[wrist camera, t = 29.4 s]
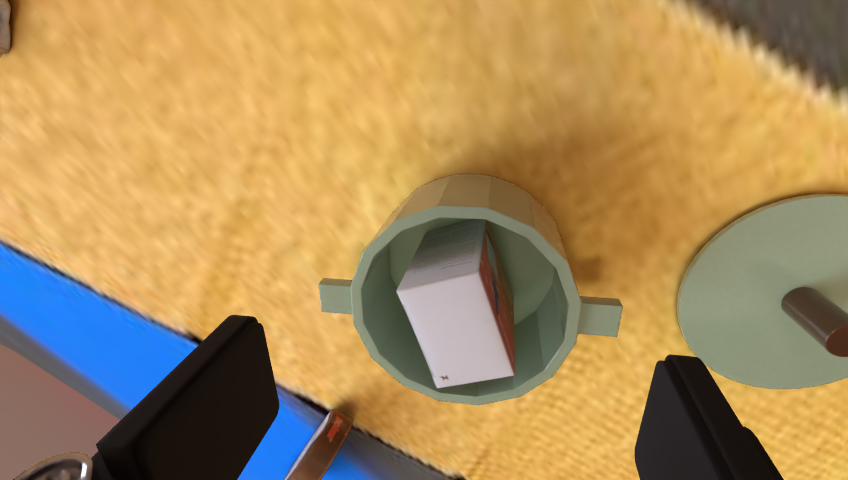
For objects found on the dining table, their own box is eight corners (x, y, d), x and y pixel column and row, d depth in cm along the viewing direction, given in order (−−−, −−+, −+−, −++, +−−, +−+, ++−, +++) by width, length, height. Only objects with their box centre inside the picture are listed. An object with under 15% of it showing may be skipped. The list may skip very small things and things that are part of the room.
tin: (308, 479, 52) (273, 551, 44) (285, 466, 51) (246, 536, 44) (364, 404, 45) (335, 473, 38) (338, 389, 45) (304, 456, 38)
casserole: (346, 170, 36) (303, 199, 28) (611, 177, 32) (644, 213, 25) (359, 328, 42) (326, 388, 34) (584, 348, 38) (604, 420, 31)
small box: (514, 297, 37) (517, 379, 27) (453, 310, 39) (436, 392, 29) (487, 213, 35) (481, 270, 25) (423, 230, 36) (394, 291, 27)
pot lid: (699, 187, 32) (742, 214, 26) (968, 195, 29) (1080, 227, 23) (655, 369, 38) (682, 422, 32) (872, 389, 35) (942, 452, 30)
